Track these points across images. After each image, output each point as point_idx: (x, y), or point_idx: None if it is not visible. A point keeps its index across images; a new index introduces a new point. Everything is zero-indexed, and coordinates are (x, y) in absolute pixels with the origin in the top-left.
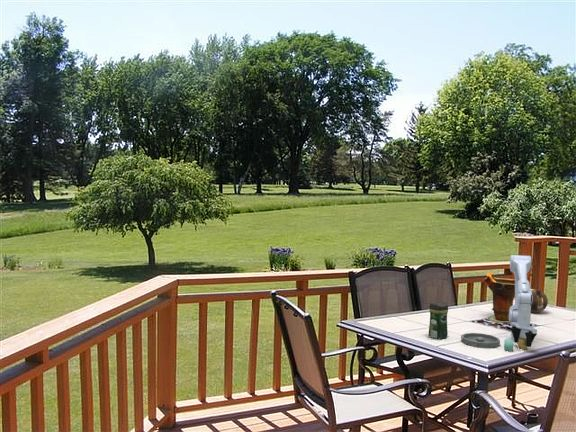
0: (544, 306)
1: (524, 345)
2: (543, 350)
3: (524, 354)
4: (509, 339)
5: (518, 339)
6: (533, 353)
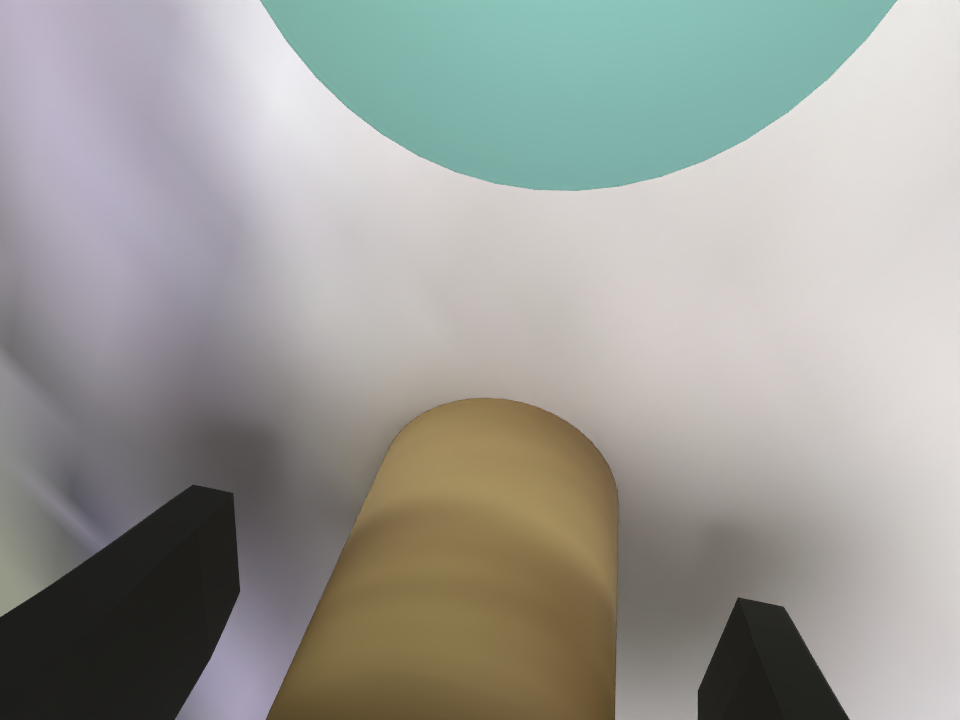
0: None
1: (351, 534)
2: (215, 708)
3: (15, 26)
4: (705, 111)
5: (574, 683)
6: (68, 369)
